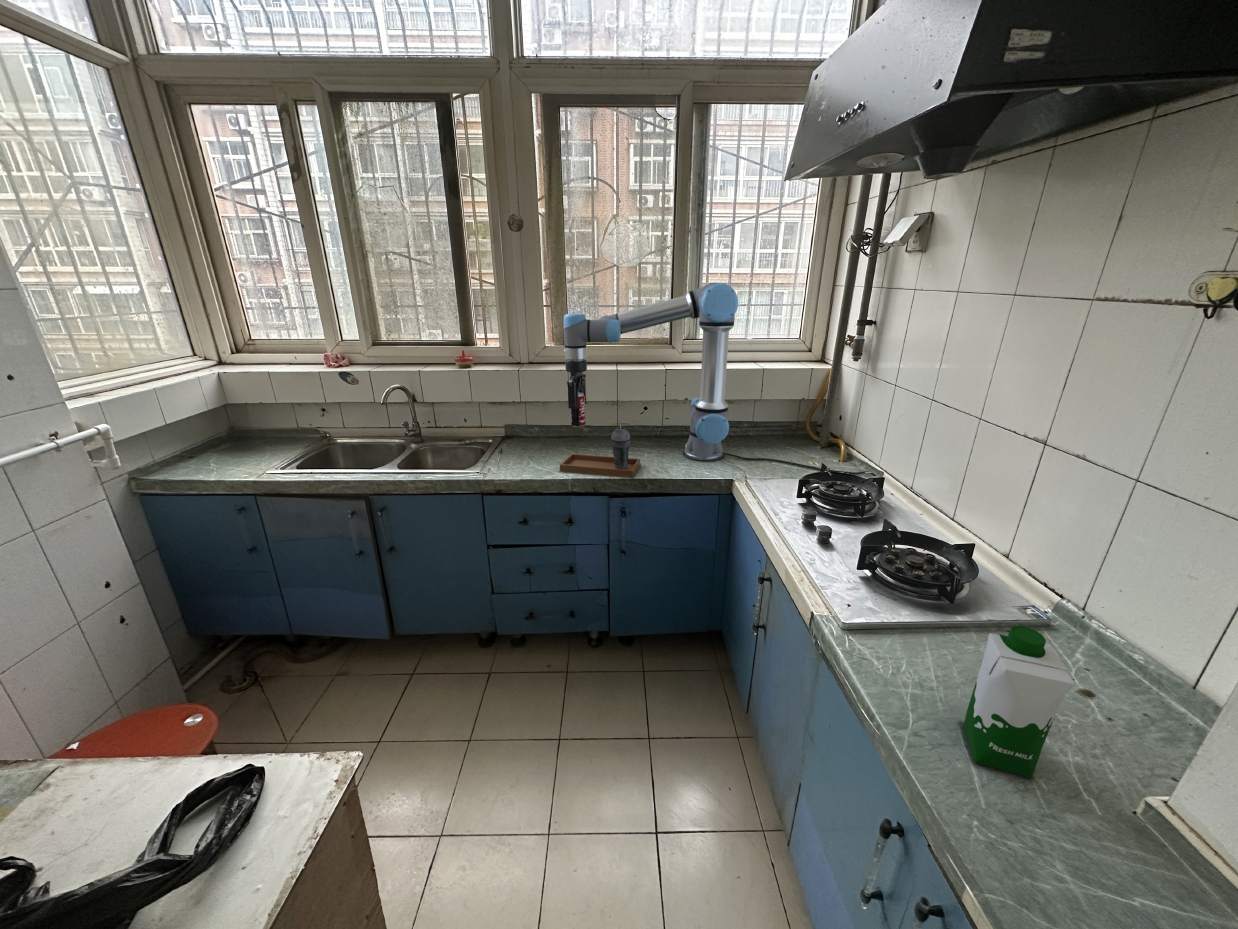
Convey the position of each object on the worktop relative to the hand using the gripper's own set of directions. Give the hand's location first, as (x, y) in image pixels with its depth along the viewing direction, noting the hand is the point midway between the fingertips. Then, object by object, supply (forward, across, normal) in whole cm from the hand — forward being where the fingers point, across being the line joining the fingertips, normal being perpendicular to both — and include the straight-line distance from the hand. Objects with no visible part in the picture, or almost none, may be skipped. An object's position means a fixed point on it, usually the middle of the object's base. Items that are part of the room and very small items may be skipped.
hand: (578, 423), depth 182 cm
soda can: (+1, 0, 0) cm, 1 cm away
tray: (+17, 0, +8) cm, 19 cm away
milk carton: (+17, +98, +100) cm, 142 cm away
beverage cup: (+16, 0, +16) cm, 23 cm away
